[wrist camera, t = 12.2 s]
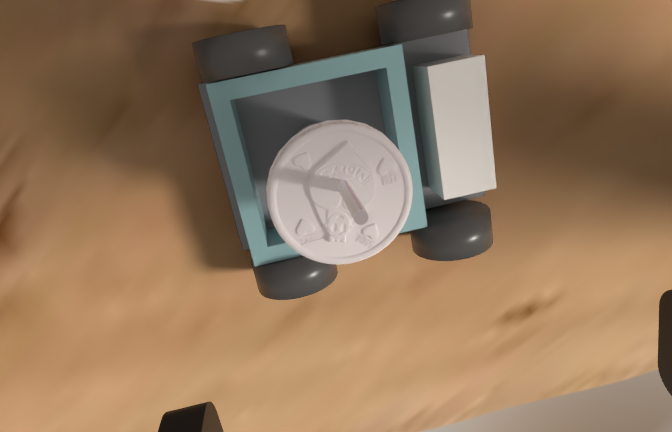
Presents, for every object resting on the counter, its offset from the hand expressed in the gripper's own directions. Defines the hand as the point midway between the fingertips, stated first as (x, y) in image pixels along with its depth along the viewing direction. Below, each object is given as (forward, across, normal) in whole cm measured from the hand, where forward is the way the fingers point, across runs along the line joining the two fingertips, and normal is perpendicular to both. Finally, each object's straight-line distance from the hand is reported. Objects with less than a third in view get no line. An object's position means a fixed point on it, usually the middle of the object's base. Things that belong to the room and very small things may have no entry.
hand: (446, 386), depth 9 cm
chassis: (+24, -2, 0) cm, 24 cm away
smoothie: (+23, 0, 0) cm, 23 cm away
